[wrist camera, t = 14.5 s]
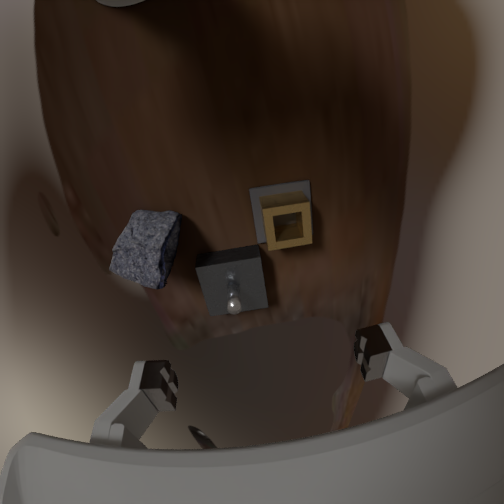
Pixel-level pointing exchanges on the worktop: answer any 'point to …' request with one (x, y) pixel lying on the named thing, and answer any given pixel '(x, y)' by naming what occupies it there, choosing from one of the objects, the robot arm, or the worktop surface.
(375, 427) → the robot arm
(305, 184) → the mat
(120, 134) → the worktop surface
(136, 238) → the stone
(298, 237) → the ring
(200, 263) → the post block
